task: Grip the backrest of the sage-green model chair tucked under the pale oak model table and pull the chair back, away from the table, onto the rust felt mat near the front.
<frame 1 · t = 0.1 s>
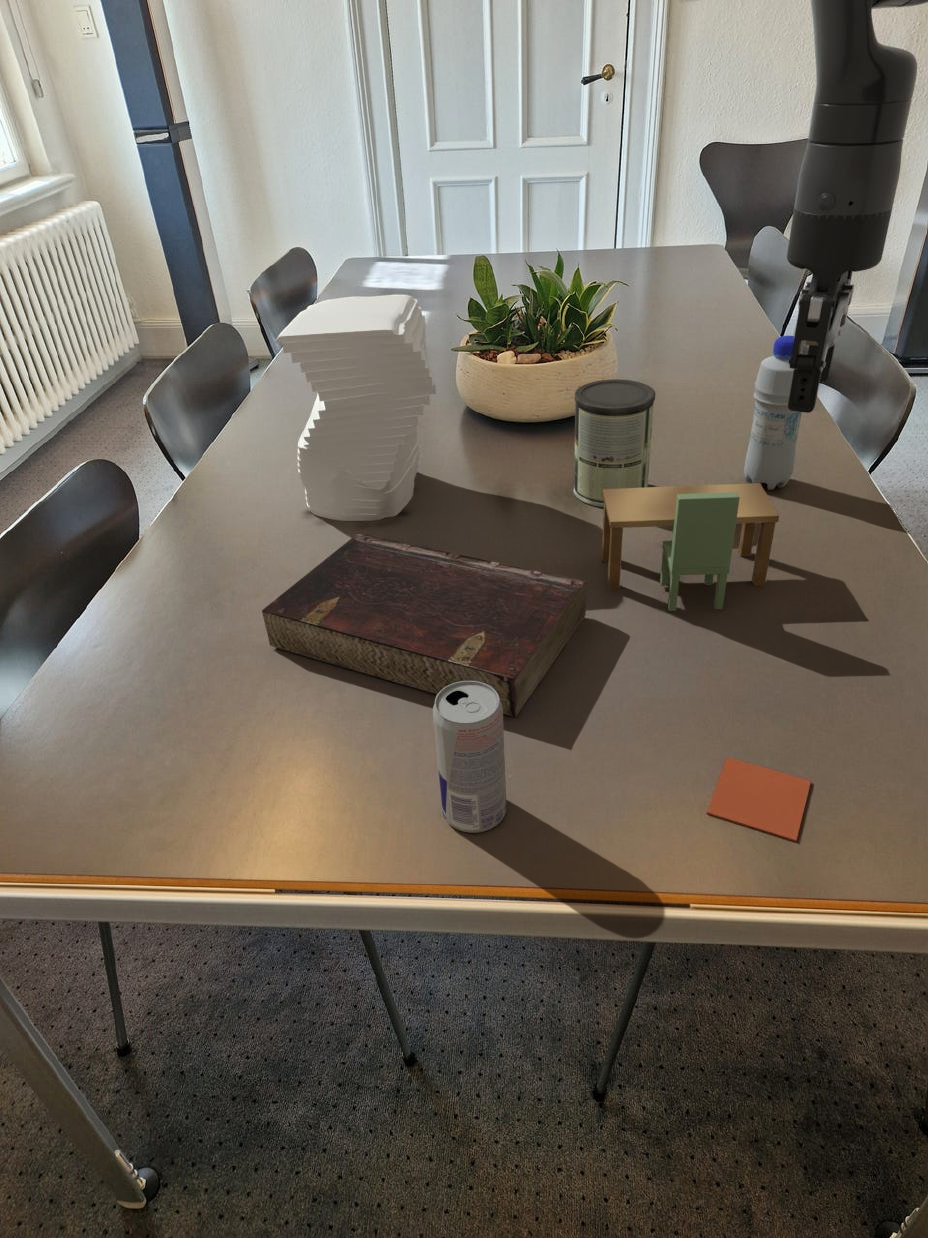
hand: (808, 394, 79), 24 cm above the table, tool pointing down, fingers open, 8 cm apart
hardback book: (429, 633, 93), on the table
felt mat: (759, 798, 71), on the table
chair: (696, 542, 91), point 7 cm above the table, slide at 0.0 cm
energy drink: (474, 812, 71), on the table
coffee can: (610, 492, 118), on the table
bottle: (765, 484, 117), on the table
model table: (680, 570, 100), on the table
paper stack: (384, 491, 122), on the table
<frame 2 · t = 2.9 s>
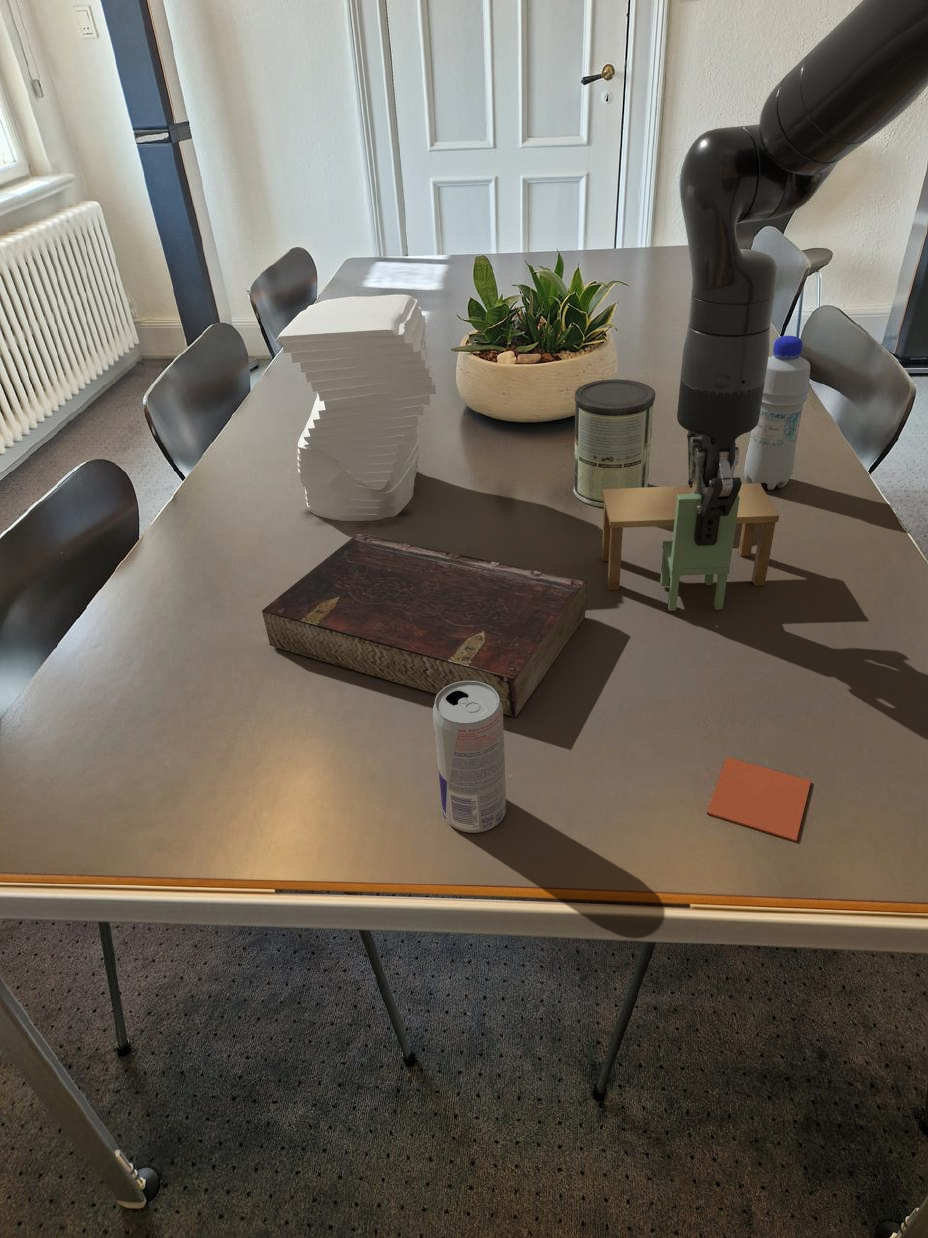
hand: (703, 538, 88), 9 cm above the table, tool pointing down, fingers closed
chair: (696, 542, 91), point 7 cm above the table, slide at 0.0 cm, touching gripper
everything else where it was.
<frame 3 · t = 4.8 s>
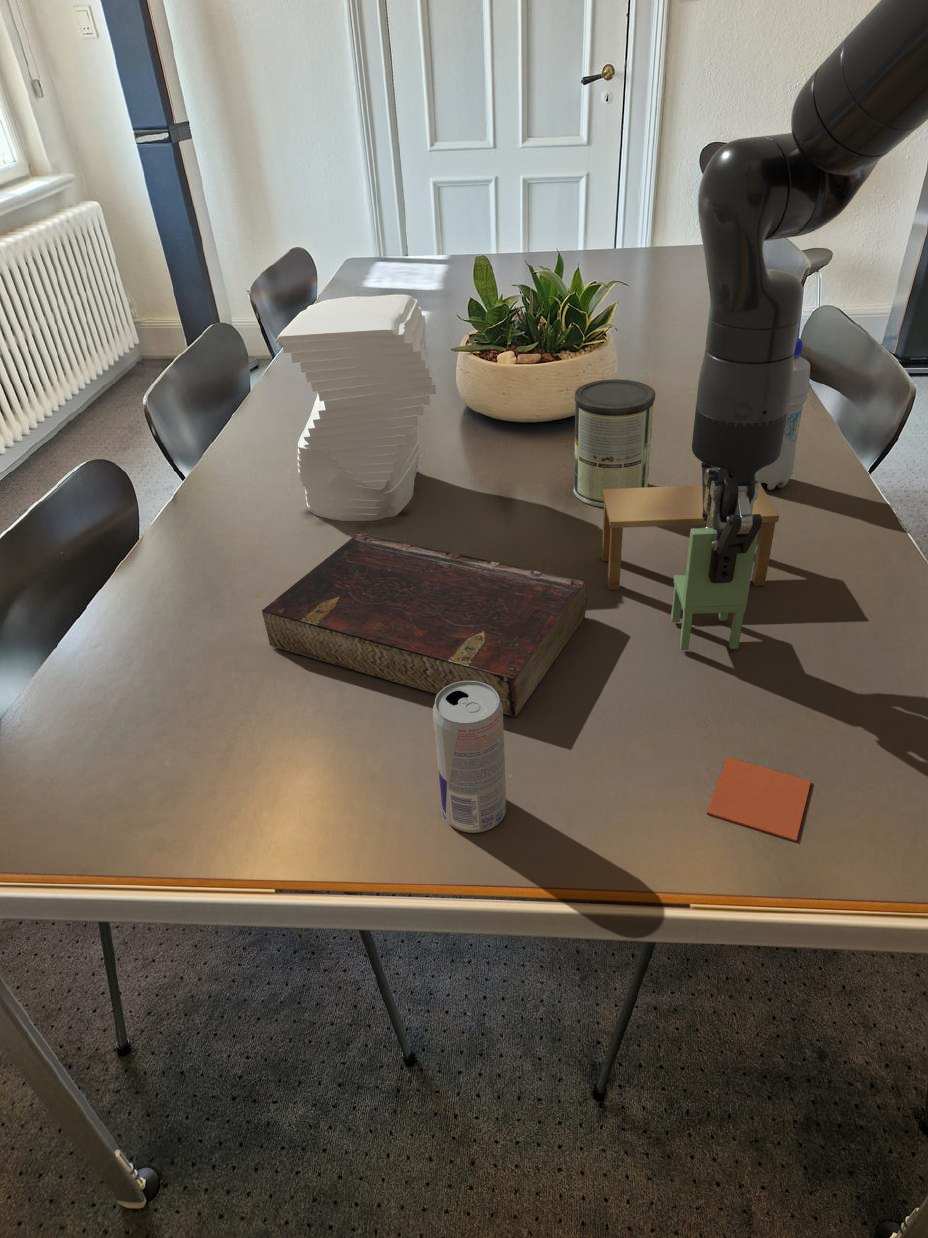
hand: (718, 575, 82), 9 cm above the table, tool pointing down, fingers closed
chair: (710, 578, 85), point 7 cm above the table, slide at 7.2 cm, touching gripper
everything else where it was.
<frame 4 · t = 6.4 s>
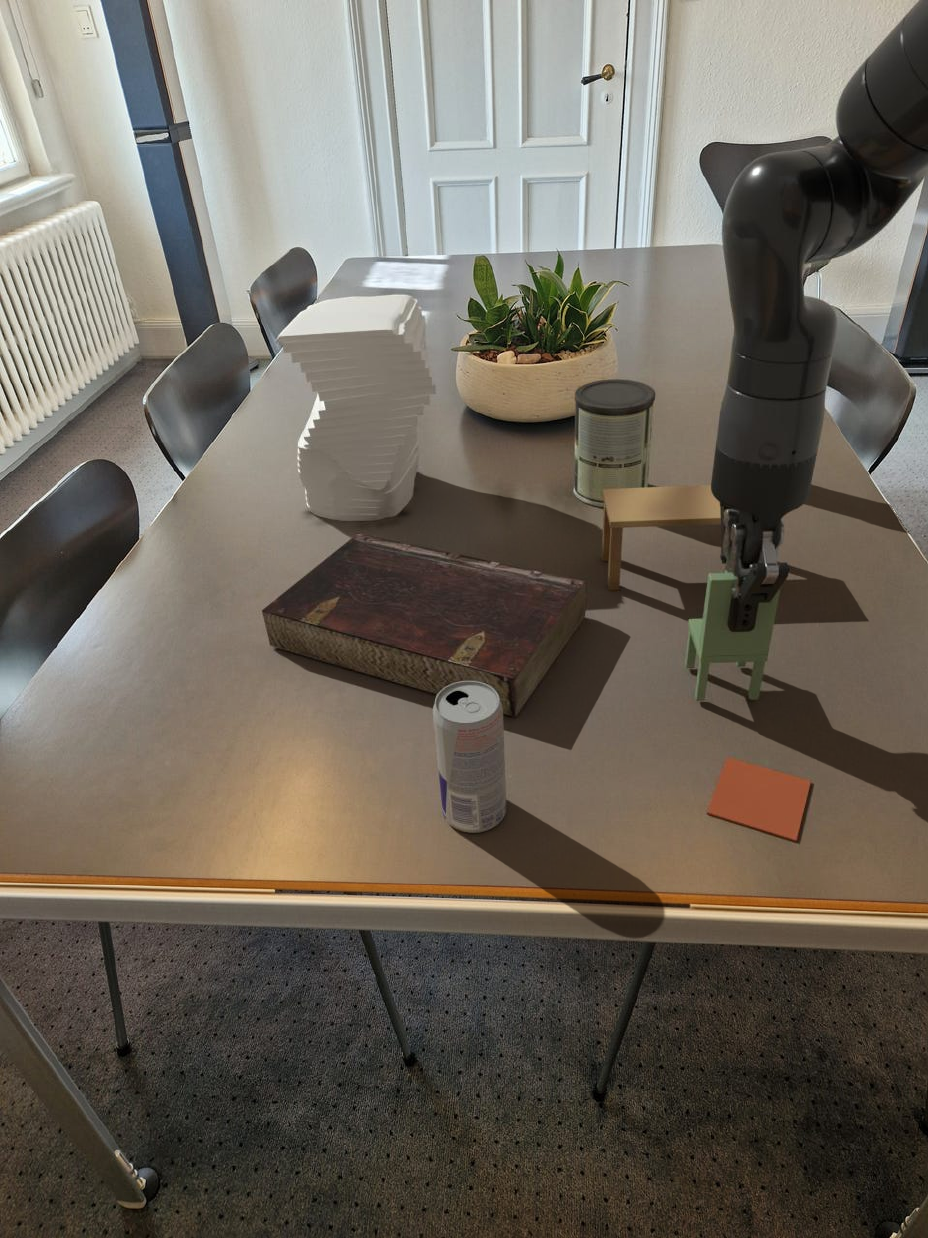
hand: (737, 622, 76), 9 cm above the table, tool pointing down, fingers closed
chair: (729, 624, 79), point 7 cm above the table, slide at 15.1 cm, touching gripper
everything else where it was.
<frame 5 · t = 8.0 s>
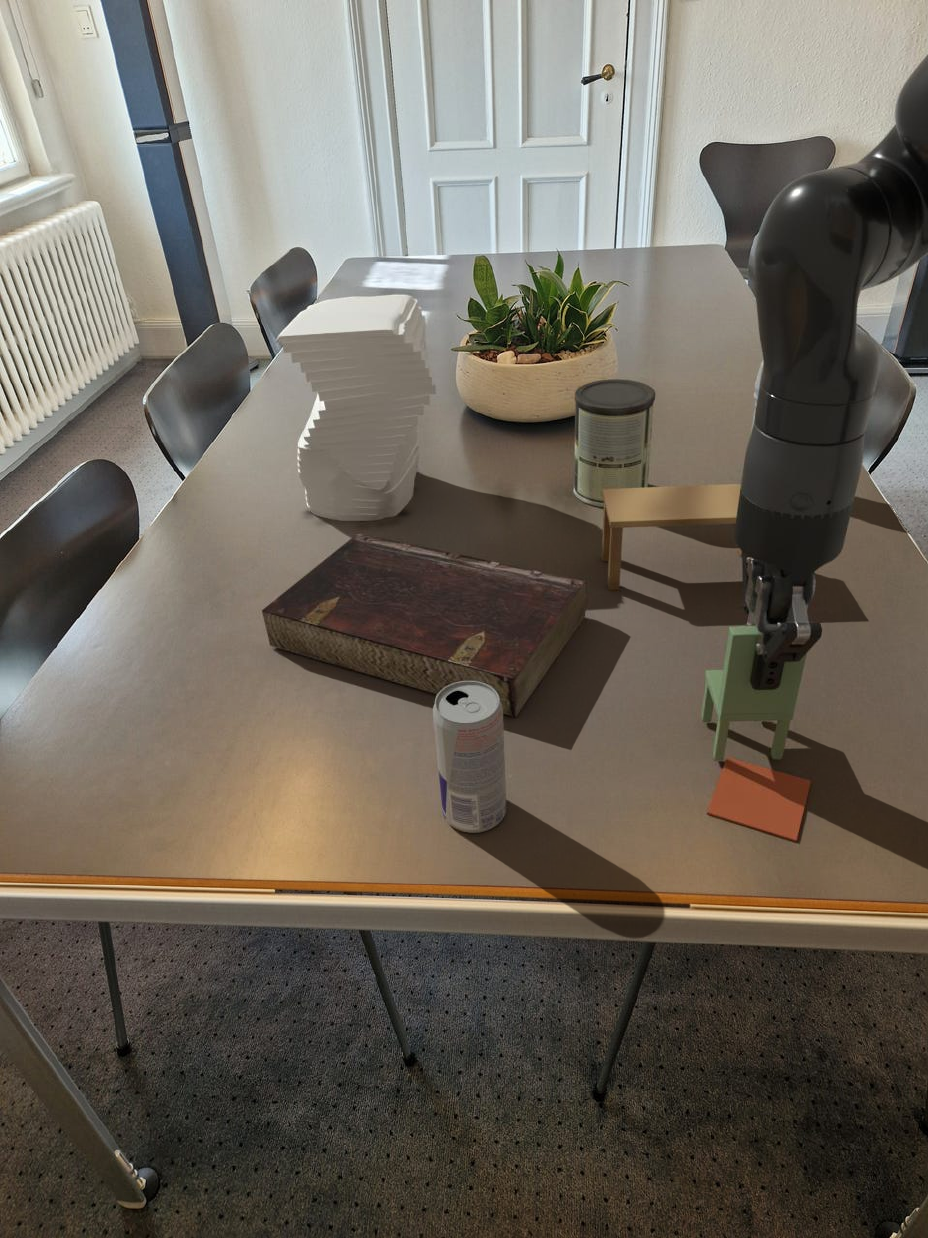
hand: (761, 679, 69), 9 cm above the table, tool pointing down, fingers closed
chair: (750, 678, 72), point 7 cm above the table, slide at 23.1 cm, touching gripper
everything else where it was.
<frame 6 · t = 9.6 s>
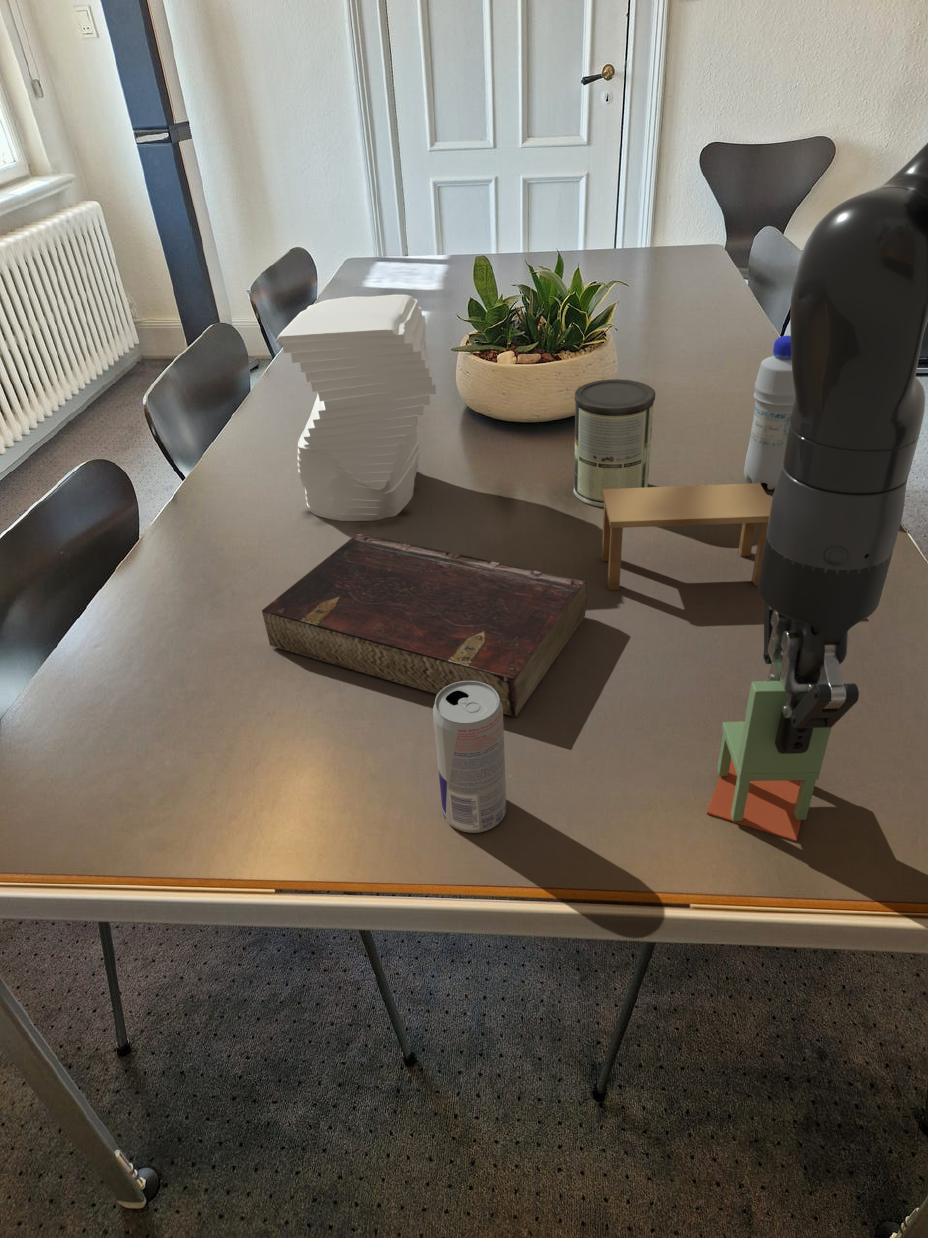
hand: (785, 737, 63), 9 cm above the table, tool pointing down, fingers closed
chair: (772, 733, 66), point 7 cm above the table, slide at 29.9 cm
everything else where it was.
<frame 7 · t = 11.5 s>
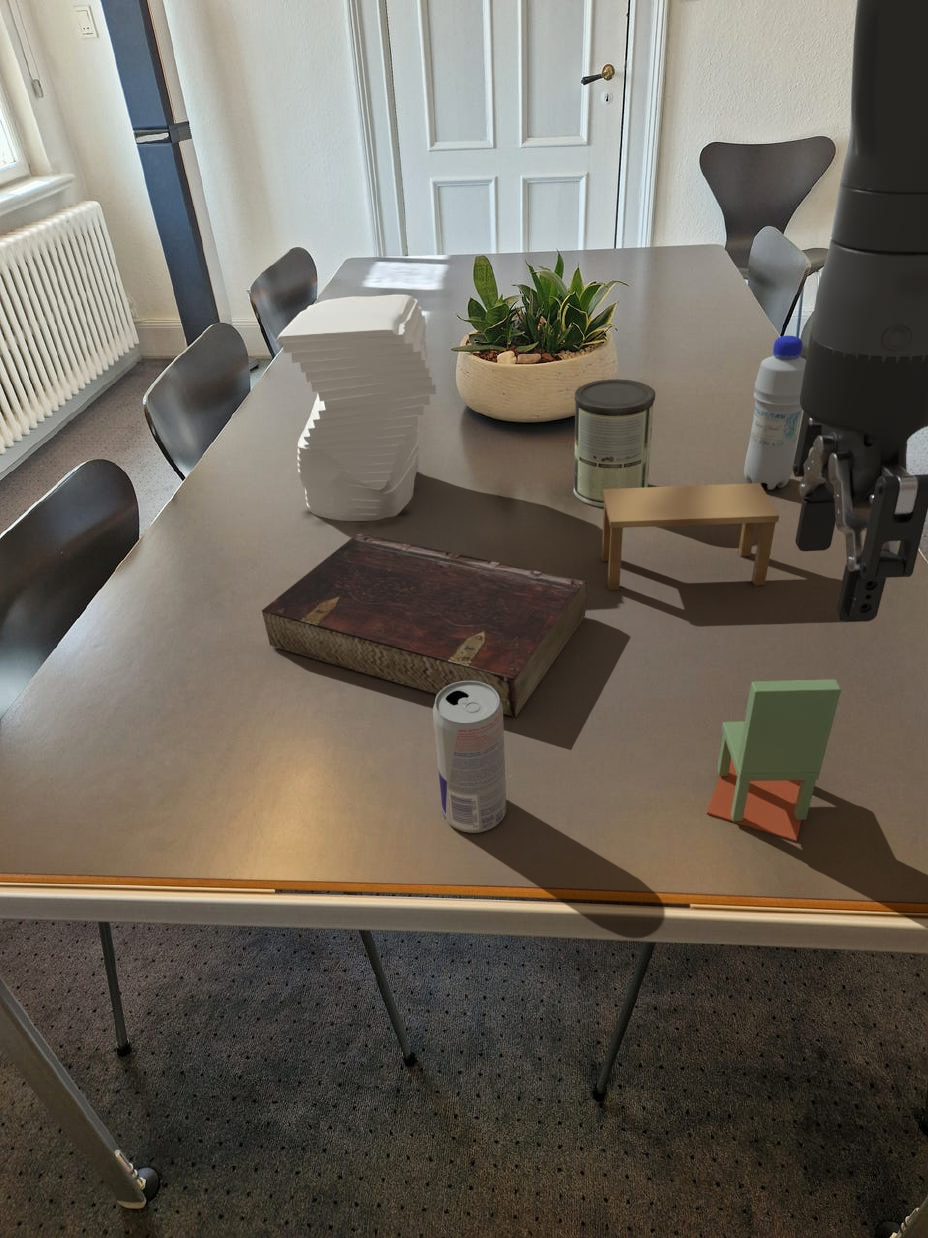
hand: (831, 581, 55), 23 cm above the table, tool pointing down, fingers open, 8 cm apart
nothing on the table moved.
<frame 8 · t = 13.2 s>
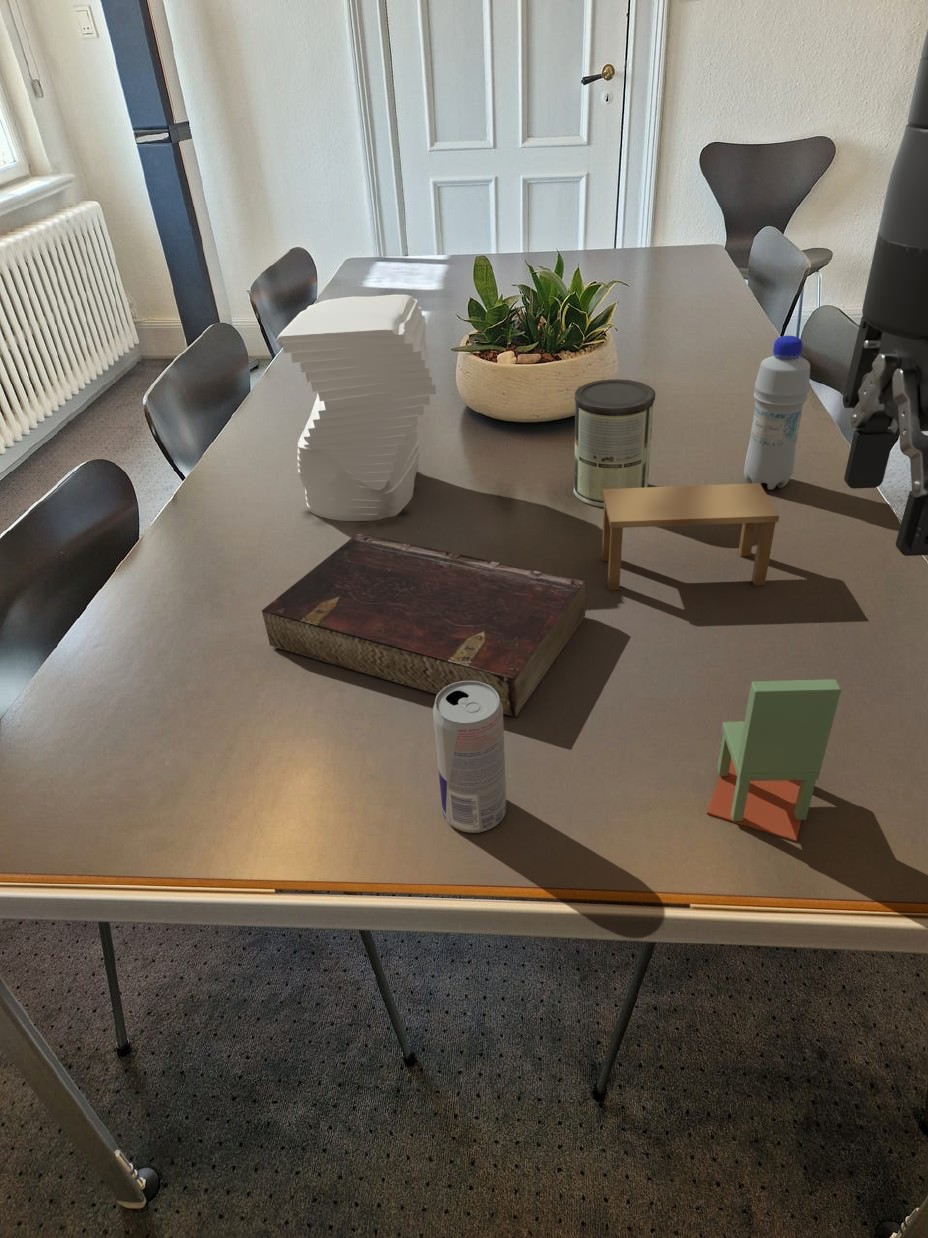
hand: (887, 516, 51), 28 cm above the table, tool pointing down, fingers open, 8 cm apart
nothing on the table moved.
at the end: chair slide at 29.9 cm; chair 0.1 cm off-centre on the felt mat, point 7.2 cm above the felt mat's base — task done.
